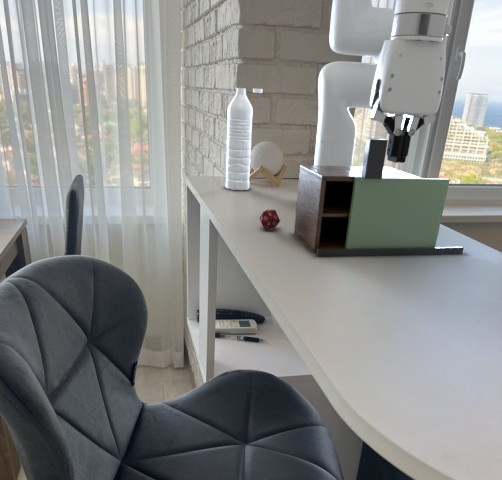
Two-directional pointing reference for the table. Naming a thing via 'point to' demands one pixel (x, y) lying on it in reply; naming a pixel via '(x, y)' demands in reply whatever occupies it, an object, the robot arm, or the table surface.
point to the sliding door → (393, 206)
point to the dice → (269, 219)
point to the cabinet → (339, 212)
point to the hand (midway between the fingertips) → (395, 161)
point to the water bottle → (239, 141)
